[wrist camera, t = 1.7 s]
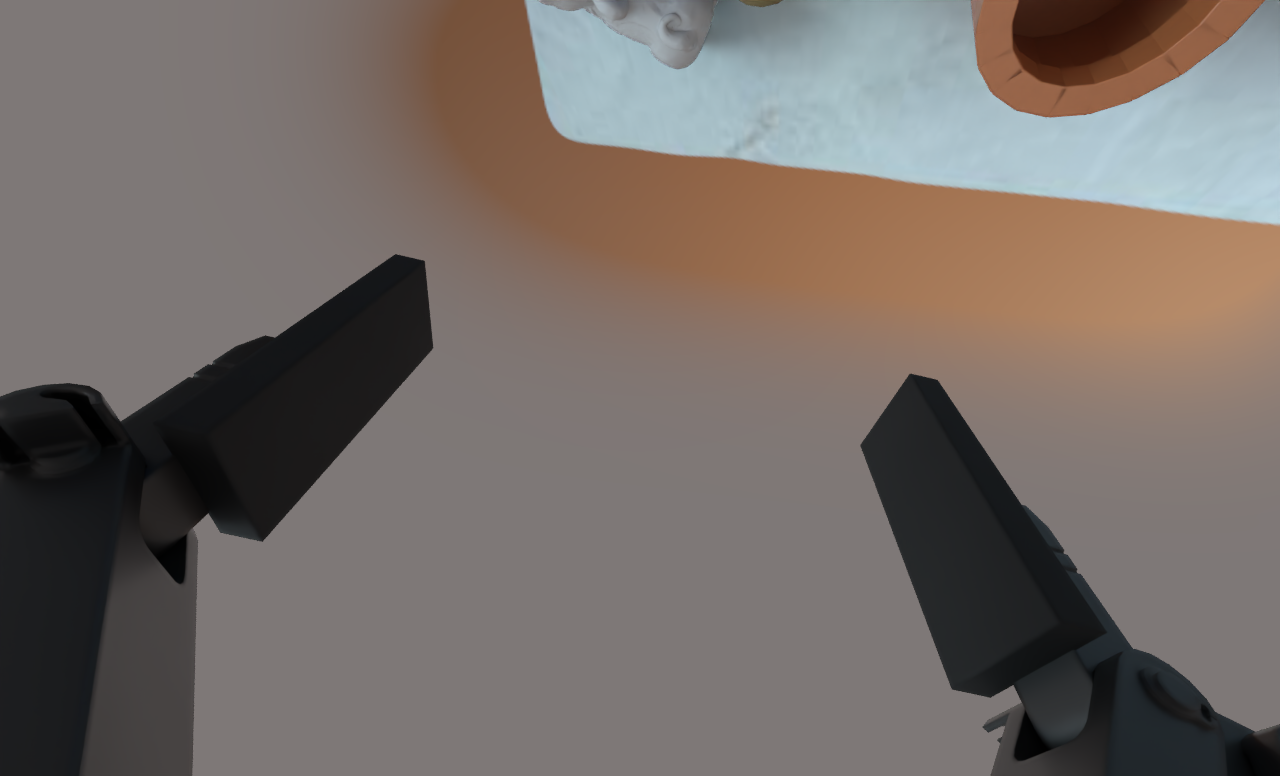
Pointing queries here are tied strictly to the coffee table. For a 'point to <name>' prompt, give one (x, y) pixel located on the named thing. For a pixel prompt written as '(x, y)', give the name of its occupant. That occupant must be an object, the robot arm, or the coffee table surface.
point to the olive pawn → (760, 2)
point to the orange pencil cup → (1094, 48)
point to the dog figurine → (654, 24)
